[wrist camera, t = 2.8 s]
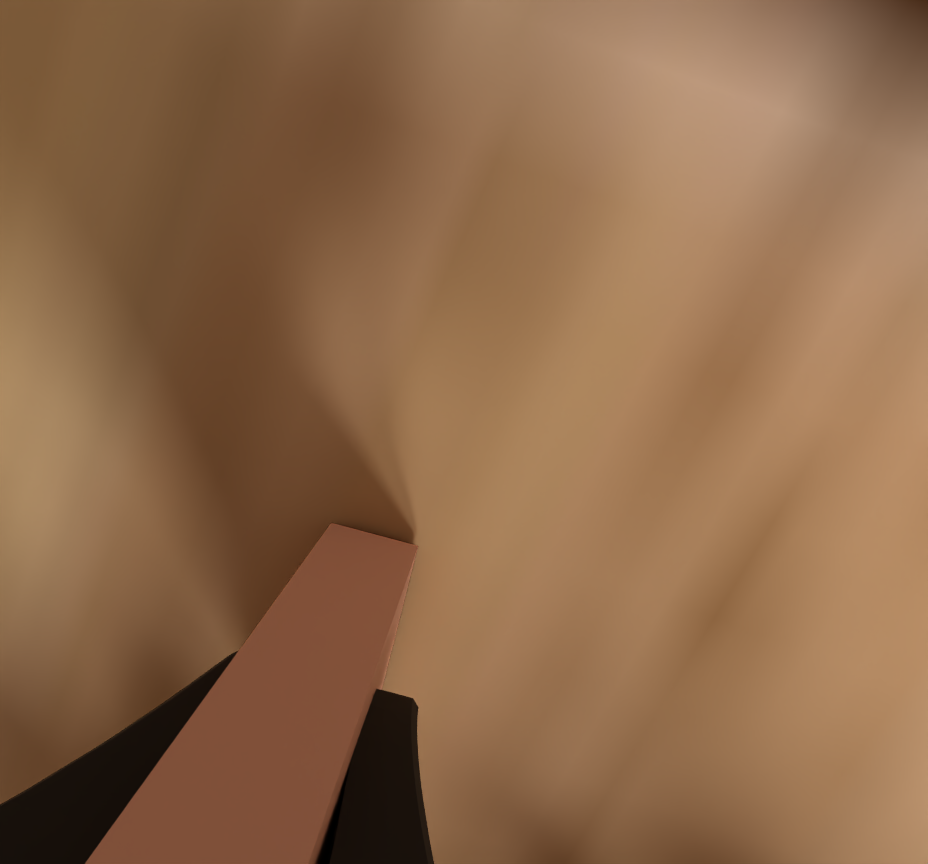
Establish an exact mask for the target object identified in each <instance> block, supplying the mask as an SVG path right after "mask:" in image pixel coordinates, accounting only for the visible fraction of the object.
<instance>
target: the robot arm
mask: <svg viewBox="0 0 928 864" xmlns="http://www.w3.org/2000/svg"><path fill="white" fill-rule="evenodd" d="M237 652H238V651H237ZM237 652H235V653H233V654H231V655H229V656H228V657H226V658H225V659H224V660H222V661H221V662H219V663H218V664H217V665H215V666H214V667H213V668H211V669H210V670H209V671H207V672H206V673H204V674H203V675H202V676H200V677H199V678H198V679H196V680H195V681H193V682H192V683H191V684H189V685H188V686H186V687H185V688H184V689H182V690H181V691H179V692H178V693H177V694H175V695H174V696H172V697H171V698H169V699H168V700H167V701H165V702H164V703H162V704H161V705H159V706H158V707H157V708H155V709H154V710H152V711H151V712H149V713H148V714H146V715H145V716H143V717H142V718H140V719H139V720H137V721H136V722H134V723H133V724H131V725H130V726H128V727H127V728H125V729H124V730H122V731H121V732H119V733H118V734H116V735H115V736H113V737H112V738H110V739H109V740H107V741H105V742H104V743H102V744H101V745H99V746H98V747H96V748H94V749H93V750H91V751H90V752H88V753H86V754H85V755H83V756H81V757H80V758H78V759H76V760H75V761H73V762H71V763H70V764H68V765H67V766H65V767H63V768H62V769H60V770H58V771H57V772H55V773H53V774H52V775H50V776H48V777H47V778H45V779H43V780H42V781H40V782H38V783H37V784H35V785H34V786H32V787H30V788H28V789H27V790H25V791H23V792H22V793H20V794H18V795H16V796H15V797H13V798H11V799H9V800H7V801H6V802H4V803H2V804H0V864H85V863H86V862H87V860H88V859H89V857H90V856H91V855H92V853H93V852H94V850H95V849H96V848H97V846H98V845H99V843H100V842H101V841H102V839H103V838H104V837H105V835H106V834H107V832H108V831H109V830H110V828H111V827H112V825H113V824H114V823H115V821H116V820H117V819H118V817H119V816H120V814H121V813H122V812H123V810H124V809H125V807H126V806H127V805H128V803H129V802H130V801H131V799H132V798H133V796H134V795H135V794H136V792H137V791H138V789H139V788H140V787H141V785H142V784H143V783H144V781H145V780H146V778H147V777H148V776H149V774H150V773H151V771H152V770H153V769H154V767H155V766H156V765H157V763H158V762H159V760H160V759H161V758H162V756H163V755H164V753H165V752H166V751H167V749H168V748H169V747H170V745H171V744H172V742H173V741H174V740H175V738H176V737H177V735H178V734H179V733H180V731H181V730H182V729H183V727H184V726H185V724H186V723H187V722H188V720H189V719H190V717H191V716H192V715H193V713H194V712H195V711H196V709H197V708H198V706H199V705H200V704H201V702H202V701H203V699H204V698H205V697H206V695H207V694H208V693H209V691H210V690H211V688H212V687H213V686H214V684H215V683H216V681H217V680H218V679H219V677H220V676H221V675H222V673H223V672H224V670H225V669H226V668H227V666H228V665H229V663H230V662H231V661H232V659H233V658H234V657H235V655H236V654H237ZM417 715H418V706H417V704H416V703H415V701H414V699H413V698H409V697H406V696H402V695H398V694H395V693H391V692H387V691H384V690H380V689H376V691H375V694H374V696H373V699H372V701H371V704H370V707H369V710H368V712H367V715H366V718H365V721H364V723H363V726H362V729H361V732H360V735H359V737H358V740H357V743H356V746H355V749H354V752H353V755H352V758H351V762H350V766H349V770H348V774H347V778H346V782H345V786H344V790H343V794H342V798H341V802H340V806H339V810H338V814H337V818H336V822H335V826H334V830H333V834H332V838H331V842H330V846H329V850H328V854H327V858H326V862H325V864H434V861H433V856H432V851H431V845H430V840H429V834H428V828H427V821H426V815H425V809H424V803H423V796H422V788H421V781H420V770H419V759H418V745H417Z"/></svg>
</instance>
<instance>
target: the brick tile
mask: <svg viewBox="0 0 928 864" xmlns="http://www.w3.org/2000/svg"><path fill="white" fill-rule="evenodd" d="M417 549H418V546H417V545H413V544H409V543H405V542H402V541H398V540H394V539H390V538H387V537H383V536H379V535H375V534H372V533H368V532H364V531H360V530H357V529H353V528H349V527H345V526H341V525H338V524H334V523H331V524H330V525H329V526H328V528H327V529H326V531H325V532H324V533H323V535H322V536H321V537H320V539H319V540H318V542H317V543H316V544H315V546H314V547H313V549H312V550H311V551H310V553H309V554H308V555H307V557H306V558H305V560H304V561H303V562H302V564H301V565H300V567H299V568H298V569H297V571H296V572H295V573H294V575H293V576H292V578H291V579H290V580H289V582H288V583H287V585H286V586H285V587H284V589H283V590H282V591H281V593H280V594H279V596H278V597H277V598H276V600H275V601H274V603H273V604H272V605H271V607H270V608H269V609H268V611H267V612H266V614H265V615H264V616H263V618H262V619H261V621H260V622H259V623H258V625H257V626H256V627H255V629H254V630H253V632H252V633H251V634H250V636H249V637H248V639H247V640H246V641H245V643H244V644H243V645H242V647H241V648H240V650H239V651H238V652H237V654H236V655H235V657H234V658H233V659H232V661H231V662H230V663H229V665H228V666H227V668H226V669H225V670H224V672H223V673H222V675H221V676H220V677H219V679H218V680H217V681H216V683H215V684H214V686H213V687H212V688H211V690H210V691H209V693H208V694H207V695H206V697H205V698H204V699H203V701H202V702H201V704H200V705H199V706H198V708H197V709H196V711H195V712H194V713H193V715H192V716H191V717H190V719H189V720H188V722H187V723H186V724H185V726H184V727H183V729H182V730H181V731H180V733H179V734H178V735H177V737H176V738H175V740H174V741H173V742H172V744H171V745H170V747H169V748H168V749H167V751H166V752H165V753H164V755H163V756H162V758H161V759H160V760H159V762H158V763H157V765H156V766H155V767H154V769H153V770H152V771H151V773H150V774H149V776H148V777H147V778H146V780H145V781H144V783H143V784H142V785H141V787H140V788H139V789H138V791H137V792H136V794H135V795H134V796H133V798H132V799H131V801H130V802H129V803H128V805H127V806H126V807H125V809H124V810H123V812H122V813H121V814H120V816H119V817H118V819H117V820H116V821H115V823H114V824H113V825H112V827H111V828H110V830H109V831H108V832H107V834H106V835H105V837H104V838H103V839H102V841H101V842H100V843H99V845H98V846H97V848H96V849H95V850H94V852H93V853H92V855H91V856H90V857H89V859H88V860H87V862H86V863H85V864H325V862H326V858H327V854H328V850H329V846H330V842H331V838H332V834H333V830H334V826H335V822H336V818H337V814H338V810H339V806H340V802H341V798H342V794H343V790H344V786H345V782H346V778H347V774H348V770H349V766H350V762H351V758H352V755H353V752H354V749H355V746H356V743H357V740H358V737H359V735H360V732H361V729H362V726H363V723H364V721H365V718H366V715H367V712H368V710H369V707H370V704H371V701H372V699H373V696H374V694H375V691H376V689H380V690H382V687H383V684H384V680H385V676H386V672H387V668H388V664H389V660H390V656H391V652H392V648H393V644H394V640H395V636H396V632H397V628H398V624H399V620H400V616H401V612H402V608H403V604H404V601H405V597H406V593H407V589H408V585H409V581H410V577H411V573H412V569H413V565H414V561H415V557H416V553H417Z"/></svg>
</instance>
